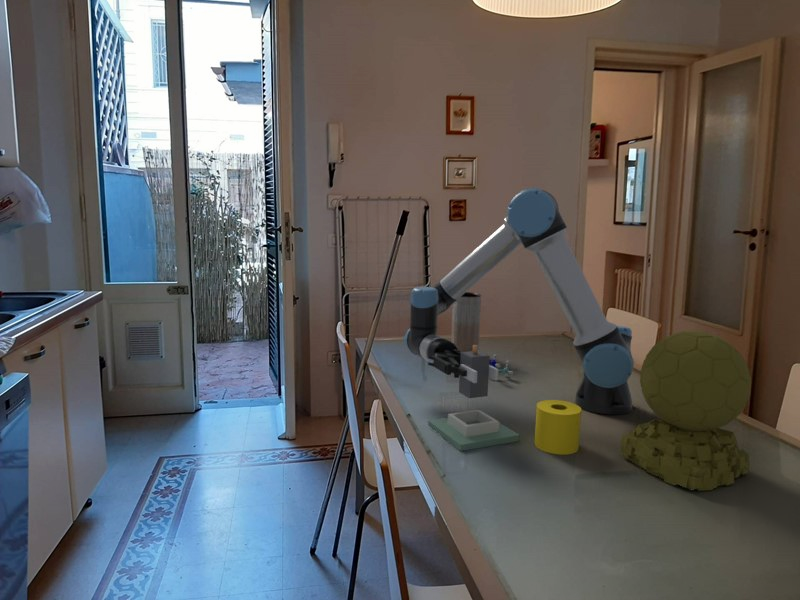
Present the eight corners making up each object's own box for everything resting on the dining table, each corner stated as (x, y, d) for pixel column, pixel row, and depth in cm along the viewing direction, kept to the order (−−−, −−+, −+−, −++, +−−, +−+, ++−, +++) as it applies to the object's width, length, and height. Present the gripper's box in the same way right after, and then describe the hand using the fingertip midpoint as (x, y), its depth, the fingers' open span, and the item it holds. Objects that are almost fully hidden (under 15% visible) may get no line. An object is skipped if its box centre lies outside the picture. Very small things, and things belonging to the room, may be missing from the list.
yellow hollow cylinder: (525, 440, 144) (528, 402, 142) (560, 434, 147) (562, 397, 146) (552, 457, 134) (554, 417, 133) (587, 450, 138) (590, 411, 137)
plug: (476, 389, 149) (478, 342, 147) (487, 396, 144) (490, 347, 142) (458, 392, 147) (461, 344, 145) (469, 398, 142) (471, 349, 140)
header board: (482, 418, 157) (483, 403, 157) (518, 440, 143) (519, 424, 142) (428, 426, 151) (428, 411, 150) (460, 451, 137) (460, 434, 136)
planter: (459, 351, 226) (461, 291, 222) (483, 355, 220) (486, 294, 217) (445, 356, 218) (447, 294, 214) (469, 361, 212) (472, 297, 209)
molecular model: (515, 363, 198) (507, 341, 192) (516, 384, 191) (508, 362, 185) (481, 369, 201) (472, 348, 196) (481, 390, 194) (472, 369, 188)
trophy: (674, 439, 146) (687, 317, 141) (763, 476, 127) (781, 337, 122) (606, 455, 136) (617, 325, 131) (692, 498, 117) (709, 348, 112)
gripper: (467, 362, 165) (517, 387, 144) (408, 368, 157) (451, 395, 137) (469, 335, 164) (519, 357, 143) (408, 340, 156) (452, 363, 135)
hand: (486, 376), depth 140 cm, fingers closed on plug, 5 cm apart
